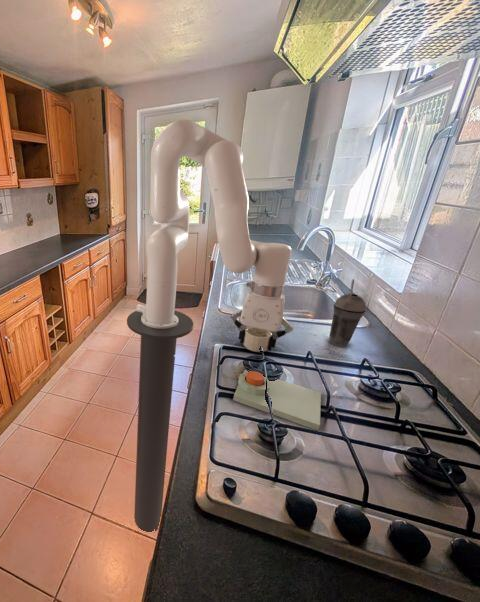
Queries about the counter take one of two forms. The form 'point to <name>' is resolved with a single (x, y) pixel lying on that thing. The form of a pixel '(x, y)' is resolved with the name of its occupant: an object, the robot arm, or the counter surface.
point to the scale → (282, 400)
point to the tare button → (255, 378)
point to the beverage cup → (346, 317)
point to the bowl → (256, 339)
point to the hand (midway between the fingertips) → (255, 344)
